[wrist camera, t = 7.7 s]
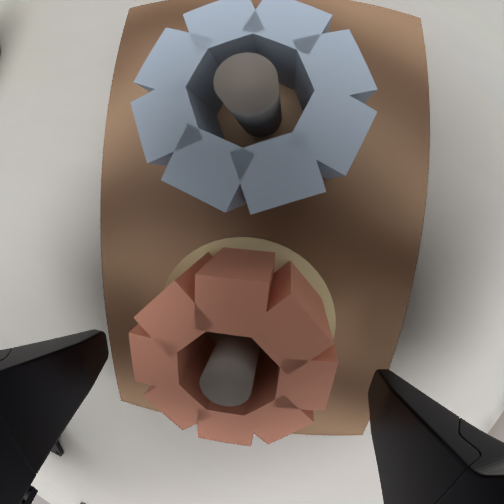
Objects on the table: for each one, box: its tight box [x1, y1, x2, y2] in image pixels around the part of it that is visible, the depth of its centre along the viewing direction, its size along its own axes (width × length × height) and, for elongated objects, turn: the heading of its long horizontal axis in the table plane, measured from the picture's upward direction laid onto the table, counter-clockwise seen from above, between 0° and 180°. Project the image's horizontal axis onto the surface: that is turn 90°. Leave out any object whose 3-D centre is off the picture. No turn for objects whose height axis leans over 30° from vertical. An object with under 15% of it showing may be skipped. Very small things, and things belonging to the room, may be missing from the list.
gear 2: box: [129, 247, 338, 446], centre depth 10 cm, size 6×6×4 cm
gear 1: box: [130, 0, 378, 215], centre depth 8 cm, size 6×6×4 cm
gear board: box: [101, 0, 430, 435], centre depth 10 cm, size 20×13×6 cm, turn 176°
